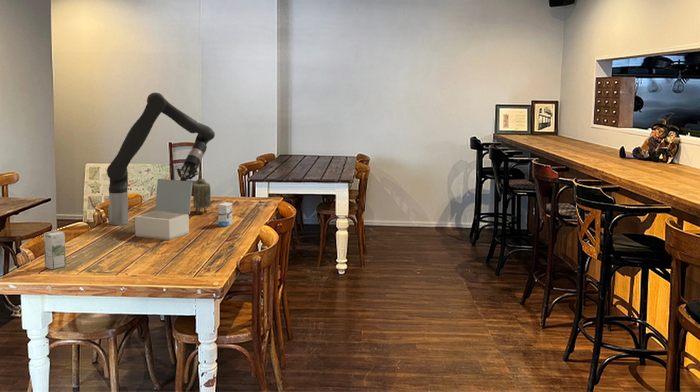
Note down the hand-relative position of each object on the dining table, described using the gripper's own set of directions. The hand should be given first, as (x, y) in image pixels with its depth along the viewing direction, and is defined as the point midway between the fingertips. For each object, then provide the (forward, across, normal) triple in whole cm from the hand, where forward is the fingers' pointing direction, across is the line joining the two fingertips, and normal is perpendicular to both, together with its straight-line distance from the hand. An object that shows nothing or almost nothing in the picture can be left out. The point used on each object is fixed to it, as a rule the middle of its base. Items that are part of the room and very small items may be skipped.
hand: (181, 184), depth 317 cm
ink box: (+5, +16, +28) cm, 33 cm away
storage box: (+28, 0, +5) cm, 28 cm away
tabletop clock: (-12, -14, +45) cm, 48 cm away
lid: (+8, 0, -1) cm, 9 cm away
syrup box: (+74, -4, -40) cm, 84 cm away
